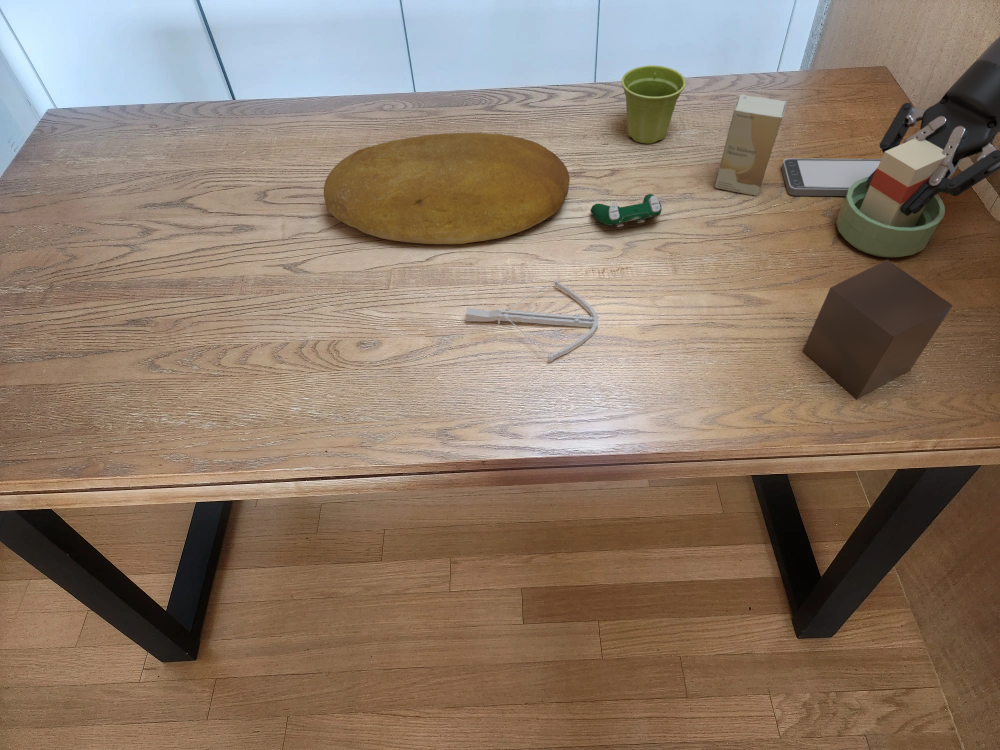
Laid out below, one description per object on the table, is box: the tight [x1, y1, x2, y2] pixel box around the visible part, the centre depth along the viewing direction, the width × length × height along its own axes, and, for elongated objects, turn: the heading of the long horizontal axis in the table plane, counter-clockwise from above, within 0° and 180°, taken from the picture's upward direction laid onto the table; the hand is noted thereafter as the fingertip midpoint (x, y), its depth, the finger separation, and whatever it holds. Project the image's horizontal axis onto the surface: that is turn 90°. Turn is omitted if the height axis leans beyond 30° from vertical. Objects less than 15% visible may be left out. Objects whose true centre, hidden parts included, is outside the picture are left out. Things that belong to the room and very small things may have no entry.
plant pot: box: [621, 64, 687, 145], centre depth 102 cm, size 9×9×9 cm
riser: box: [802, 259, 953, 400], centre depth 70 cm, size 8×8×10 cm
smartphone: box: [780, 158, 882, 197], centre depth 94 cm, size 7×1×15 cm
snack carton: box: [859, 138, 946, 228], centre depth 82 cm, size 5×6×11 cm
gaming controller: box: [590, 193, 662, 228], centre depth 91 cm, size 9×4×6 cm
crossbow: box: [465, 280, 599, 362], centre depth 80 cm, size 16×13×2 cm
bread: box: [323, 132, 570, 245], centre depth 92 cm, size 18×35×10 cm, turn 93°
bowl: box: [835, 177, 946, 259], centre depth 85 cm, size 11×11×5 cm
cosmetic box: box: [714, 93, 788, 197], centre depth 91 cm, size 6×4×12 cm
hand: (887, 200), depth 82 cm, fingers closed on snack carton, 4 cm apart
